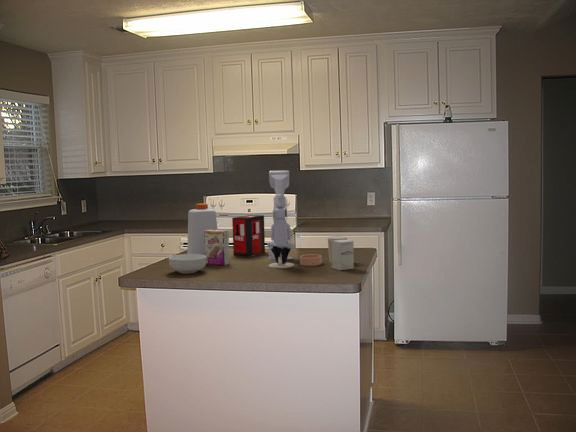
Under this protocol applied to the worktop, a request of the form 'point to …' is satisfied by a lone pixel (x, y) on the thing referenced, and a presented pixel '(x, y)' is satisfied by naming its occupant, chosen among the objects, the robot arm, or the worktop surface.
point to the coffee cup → (331, 244)
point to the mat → (280, 268)
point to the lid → (280, 265)
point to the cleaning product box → (248, 235)
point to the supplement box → (342, 254)
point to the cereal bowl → (187, 263)
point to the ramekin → (310, 260)
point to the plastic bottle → (199, 227)
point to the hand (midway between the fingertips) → (281, 263)
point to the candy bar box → (216, 247)
